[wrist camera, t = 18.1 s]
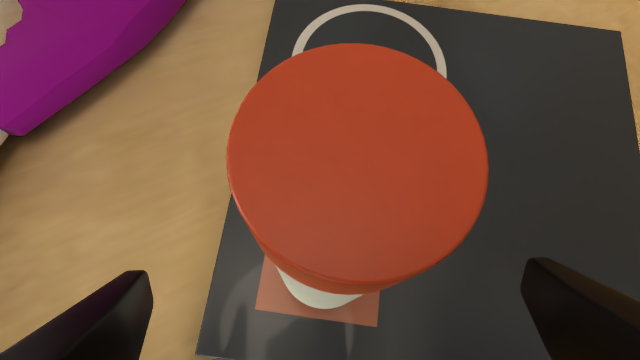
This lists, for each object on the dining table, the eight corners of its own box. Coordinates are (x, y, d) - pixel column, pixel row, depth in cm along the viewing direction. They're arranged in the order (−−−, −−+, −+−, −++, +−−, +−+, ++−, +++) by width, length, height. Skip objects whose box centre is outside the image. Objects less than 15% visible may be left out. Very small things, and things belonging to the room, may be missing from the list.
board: (613, 38, 22) (622, 30, 22) (670, 424, 16) (685, 428, 15) (279, -7, 23) (278, -16, 22) (198, 353, 16) (193, 355, 15)
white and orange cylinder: (387, 274, 17) (545, 175, 6) (315, 332, 16) (335, 350, 5) (332, 204, 18) (375, 4, 7) (261, 256, 17) (175, 123, 6)
